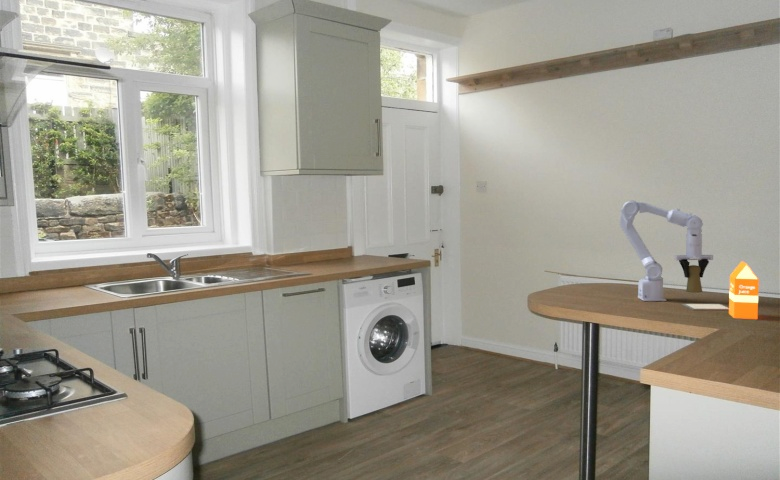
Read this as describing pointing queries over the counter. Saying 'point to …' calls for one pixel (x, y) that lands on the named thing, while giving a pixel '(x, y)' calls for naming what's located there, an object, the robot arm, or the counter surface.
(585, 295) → the counter surface
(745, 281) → the orange juice
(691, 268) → the cork
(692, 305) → the notepad
